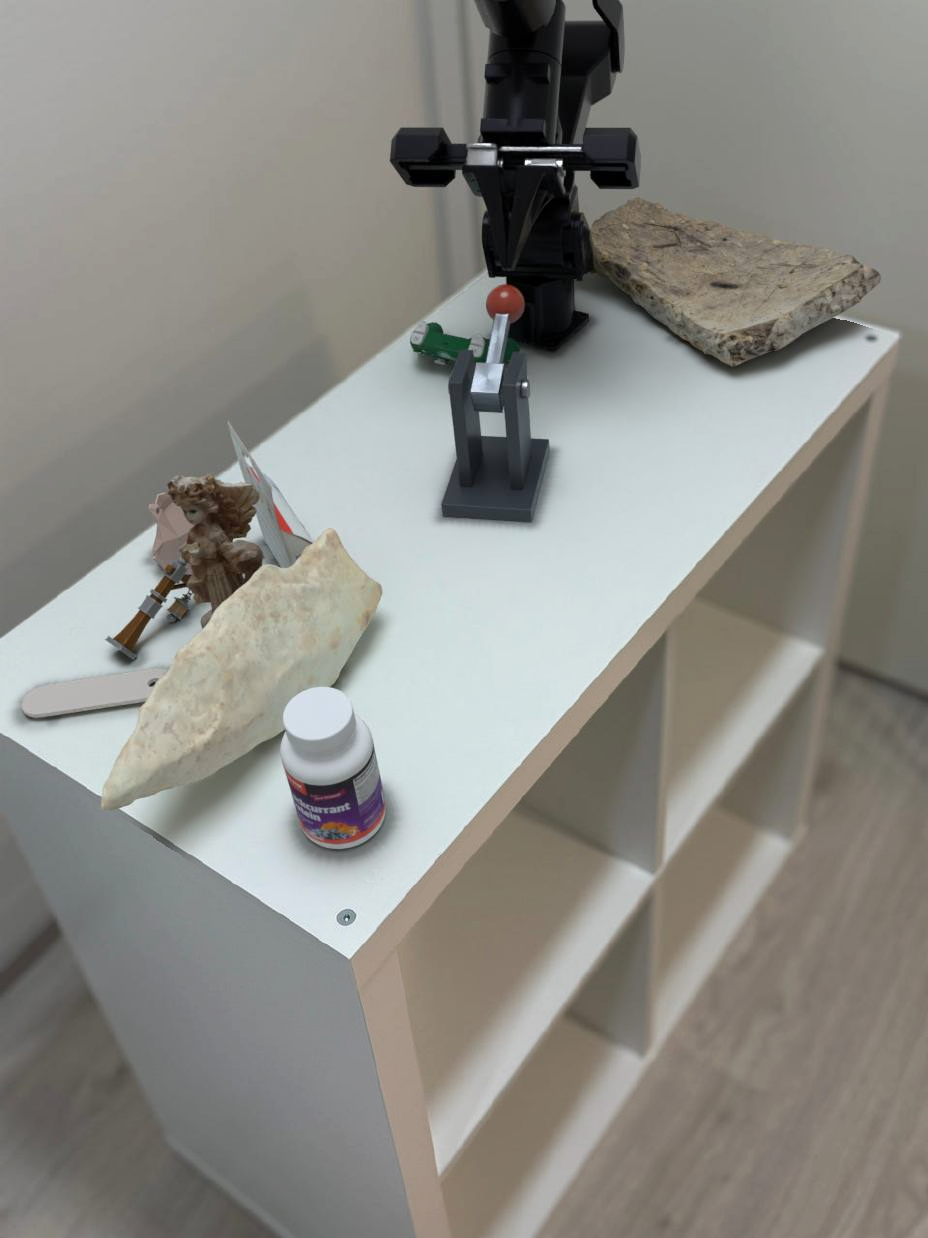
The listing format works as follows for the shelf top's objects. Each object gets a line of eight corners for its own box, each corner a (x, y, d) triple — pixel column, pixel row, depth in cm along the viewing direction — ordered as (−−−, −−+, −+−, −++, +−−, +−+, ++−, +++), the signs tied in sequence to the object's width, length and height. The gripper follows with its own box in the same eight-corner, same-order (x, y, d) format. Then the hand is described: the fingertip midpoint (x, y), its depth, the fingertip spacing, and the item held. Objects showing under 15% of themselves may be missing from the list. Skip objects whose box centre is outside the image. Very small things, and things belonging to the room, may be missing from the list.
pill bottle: (284, 838, 76) (252, 735, 70) (324, 772, 80) (297, 668, 73) (364, 862, 75) (339, 759, 68) (401, 793, 78) (380, 688, 71)
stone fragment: (767, 397, 105) (904, 301, 114) (774, 336, 101) (916, 240, 110) (529, 284, 120) (666, 207, 129) (527, 227, 116) (668, 151, 125)
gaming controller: (423, 364, 116) (394, 349, 110) (434, 324, 115) (405, 307, 110) (512, 384, 112) (487, 370, 107) (524, 342, 112) (499, 326, 106)
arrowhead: (268, 510, 87) (54, 757, 70) (342, 499, 84) (137, 756, 67) (328, 624, 92) (142, 881, 75) (400, 618, 89) (224, 885, 72)
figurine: (178, 669, 87) (119, 501, 77) (219, 611, 91) (167, 444, 81) (273, 690, 85) (224, 520, 75) (310, 630, 89) (269, 461, 78)
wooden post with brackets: (219, 585, 92) (187, 556, 88) (153, 673, 91) (118, 649, 87) (203, 575, 93) (171, 546, 89) (138, 663, 92) (102, 638, 88)
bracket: (465, 446, 103) (453, 332, 96) (549, 450, 102) (544, 335, 94) (442, 516, 97) (427, 400, 90) (531, 522, 96) (524, 404, 88)
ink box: (291, 526, 97) (262, 404, 89) (336, 597, 91) (309, 472, 83) (256, 539, 97) (224, 417, 89) (299, 611, 90) (268, 486, 82)
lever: (491, 302, 99) (486, 275, 96) (529, 303, 98) (525, 276, 96) (469, 413, 94) (463, 389, 92) (508, 415, 94) (503, 391, 91)
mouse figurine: (220, 599, 92) (199, 530, 88) (141, 566, 96) (116, 498, 91) (264, 558, 95) (245, 488, 91) (185, 527, 99) (164, 459, 94)
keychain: (174, 700, 85) (177, 671, 88) (172, 694, 85) (175, 665, 87) (20, 723, 85) (27, 694, 87) (17, 717, 85) (25, 688, 87)
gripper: (651, 109, 102) (636, 300, 102) (430, 109, 106) (415, 293, 106) (643, 46, 91) (625, 260, 91) (396, 49, 95) (380, 255, 95)
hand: (507, 269), depth 96 cm, fingers closed
